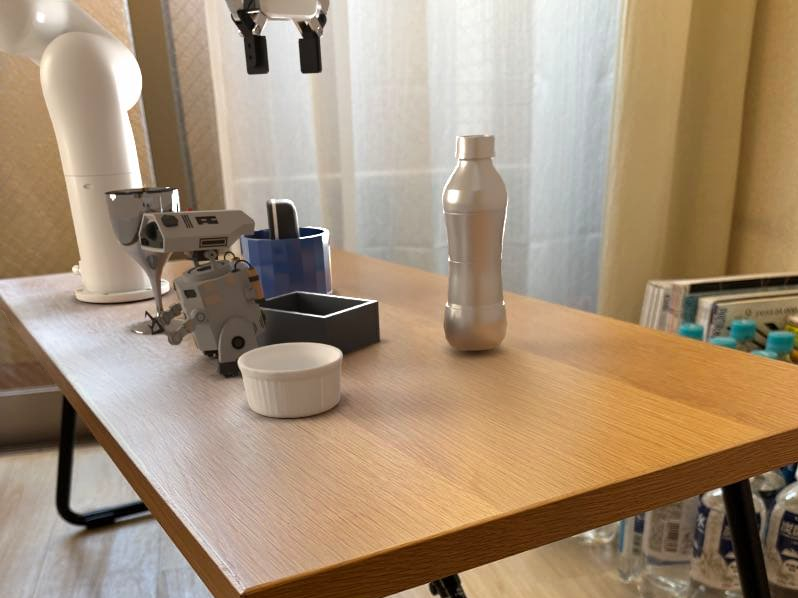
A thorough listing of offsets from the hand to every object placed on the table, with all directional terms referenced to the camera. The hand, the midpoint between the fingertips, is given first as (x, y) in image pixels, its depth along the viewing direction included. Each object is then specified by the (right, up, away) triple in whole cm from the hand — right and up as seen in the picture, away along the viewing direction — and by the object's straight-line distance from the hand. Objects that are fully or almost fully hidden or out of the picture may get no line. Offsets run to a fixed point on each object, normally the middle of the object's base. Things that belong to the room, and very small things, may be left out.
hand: (285, 73), depth 112 cm
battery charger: (0, -25, +7) cm, 26 cm away
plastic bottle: (+22, -39, -20) cm, 49 cm away
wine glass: (-14, -33, -6) cm, 36 cm away
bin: (+5, -37, -16) cm, 41 cm away
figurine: (-4, -41, -22) cm, 47 cm away
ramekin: (+5, -47, -34) cm, 58 cm away
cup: (0, -26, +7) cm, 27 cm away
